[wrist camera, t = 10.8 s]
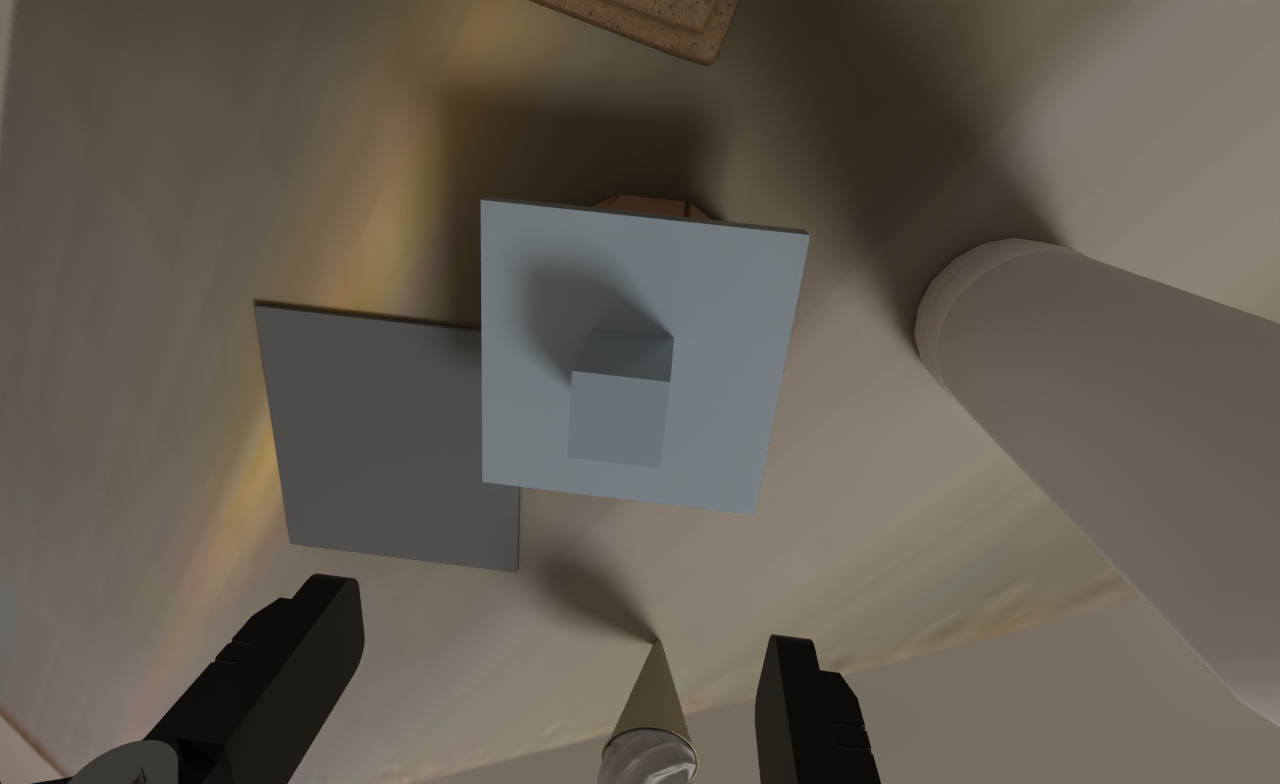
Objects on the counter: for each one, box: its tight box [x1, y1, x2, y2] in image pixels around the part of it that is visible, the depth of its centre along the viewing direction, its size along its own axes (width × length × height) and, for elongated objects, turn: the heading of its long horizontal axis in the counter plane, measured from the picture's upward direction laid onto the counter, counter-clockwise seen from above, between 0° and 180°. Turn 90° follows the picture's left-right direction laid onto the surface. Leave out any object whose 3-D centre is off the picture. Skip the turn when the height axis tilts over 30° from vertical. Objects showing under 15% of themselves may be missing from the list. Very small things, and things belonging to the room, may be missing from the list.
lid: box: [481, 196, 810, 515], centre depth 24 cm, size 12×12×6 cm
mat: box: [255, 304, 520, 573], centre depth 36 cm, size 15×14×1 cm
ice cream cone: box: [598, 641, 699, 784], centre depth 33 cm, size 5×5×15 cm
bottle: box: [914, 238, 1280, 727], centre depth 17 cm, size 8×8×30 cm
